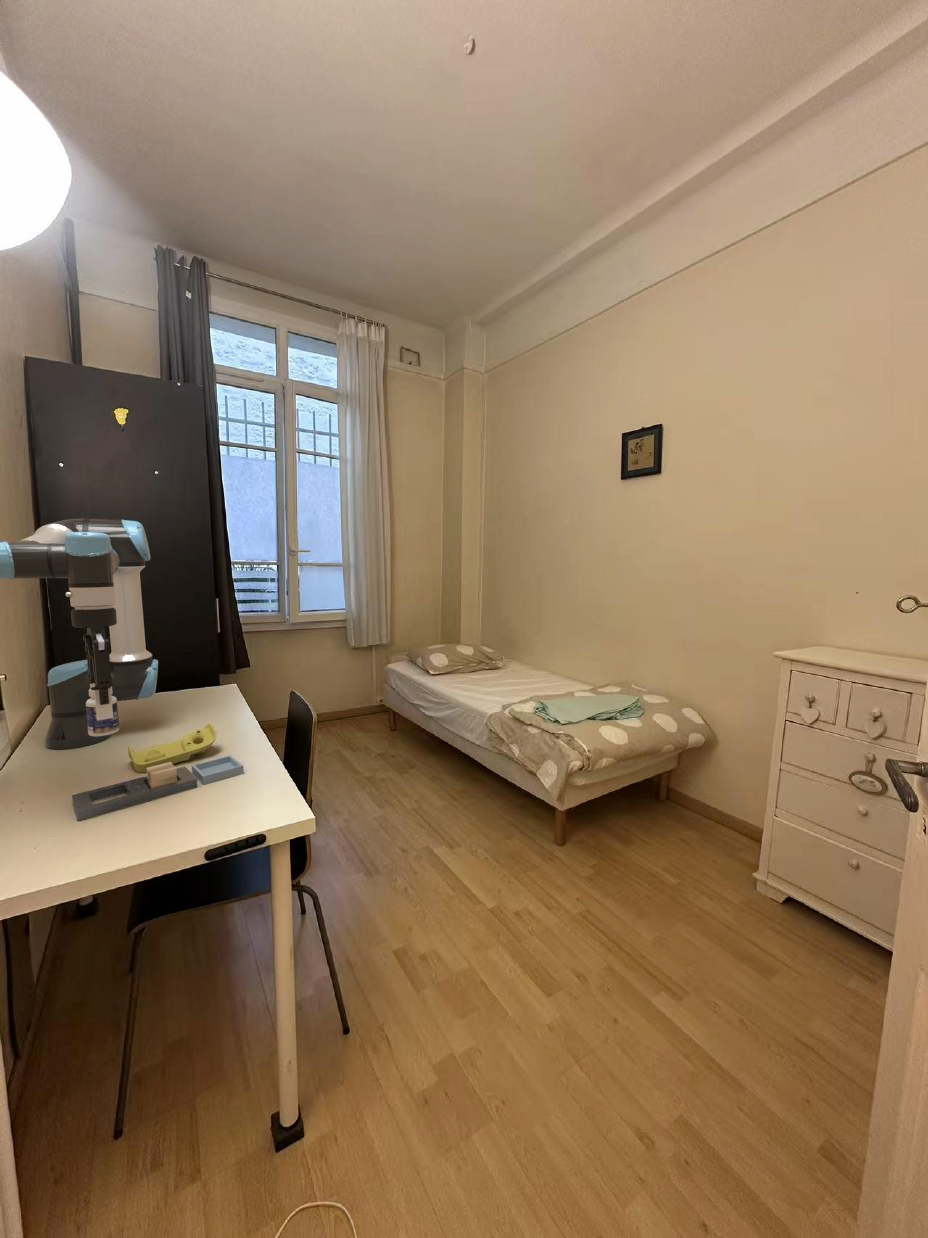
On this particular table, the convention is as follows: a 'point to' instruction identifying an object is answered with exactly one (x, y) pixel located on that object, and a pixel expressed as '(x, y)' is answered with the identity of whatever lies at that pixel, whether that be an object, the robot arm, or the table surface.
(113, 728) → the pill bottle
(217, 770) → the tray
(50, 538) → the robot arm
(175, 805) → the table surface
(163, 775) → the beech block
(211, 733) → the plastic component
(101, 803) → the rail
